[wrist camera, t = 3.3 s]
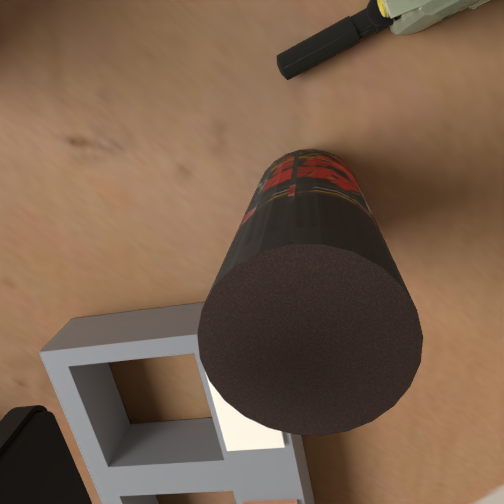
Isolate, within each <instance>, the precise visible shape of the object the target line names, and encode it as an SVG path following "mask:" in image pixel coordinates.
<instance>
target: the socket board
mask: <svg viewBox="0 0 504 504" xmlns="http://www.w3.org/2000/svg"><path fill="white" fill-rule="evenodd" d="M204 303H205V302H201V303H193V304H185V305H177V306H169V307H161V308H153V309H145V310H137V311H129V312H121V313H114V314H106V315H98V316H90V317H82V318H74V319H71V320H70V321H69V322H68V323H67V324H66V325H65V326H64V327H63V328H62V329H61V330H60V331H59V332H58V333H57V334H56V335H55V336H54V337H53V338H52V339H51V340H50V341H49V342H48V343H47V344H46V345H45V346H44V347H43V348H42V350H41V351H40V352H39V354H40V356H41V358H42V361H43V363H44V366H45V368H46V370H47V373H48V375H49V377H50V380H51V382H52V385H53V387H54V389H55V392H56V394H57V397H58V399H59V401H60V404H61V406H62V409H63V411H64V413H65V416H66V418H67V421H68V423H69V425H70V428H71V430H72V433H73V435H74V437H75V440H76V442H77V445H78V447H79V449H80V452H81V454H82V456H83V459H84V461H85V464H86V466H87V468H88V471H89V473H90V476H91V478H92V480H93V483H94V485H95V488H96V490H97V492H98V495H99V497H100V500H101V502H102V504H159V503H158V500H157V497H156V494H175V493H196V492H217V491H233V493H234V497H235V500H236V504H315V502H314V497H313V491H312V486H311V481H310V476H309V471H308V466H307V461H306V456H305V451H304V446H303V441H302V436H301V435H295V434H290V433H286V432H282V431H278V430H274V429H270V428H267V427H265V426H263V425H261V424H259V423H257V422H255V421H253V420H251V419H248V418H246V417H245V416H243V415H242V414H241V413H239V412H238V411H237V410H236V409H234V408H233V407H232V406H231V405H229V404H228V403H227V402H226V401H224V399H223V398H222V397H221V395H220V394H219V393H218V392H217V390H216V389H215V388H214V386H213V385H212V384H211V383H210V381H209V379H208V377H207V374H206V372H205V370H204V367H203V365H202V362H201V360H200V356H199V347H198V338H197V332H198V327H199V321H200V316H201V310H202V308H203V306H204ZM191 353H194V354H195V357H196V361H197V364H198V368H199V372H200V375H201V379H202V382H203V386H204V389H205V393H206V397H207V400H208V404H209V407H210V411H211V414H212V418H200V419H188V420H175V421H162V422H149V423H137V424H130V422H129V419H128V417H127V414H126V411H125V408H124V405H123V403H122V400H121V397H120V394H119V392H118V389H117V386H116V383H115V380H114V378H113V375H112V372H111V369H110V367H109V364H108V362H115V361H125V360H134V359H144V358H153V357H163V356H172V355H182V354H191Z"/></svg>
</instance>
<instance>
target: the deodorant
mask: <svg viewBox="0 0 504 504" xmlns="http://www.w3.org/2000/svg"><path fill="white" fill-rule="evenodd" d="M197 338H198V347H199V356H200V360H201V362H202V365H203V367H204V370H205V372H206V374H207V377H208V379H209V381H210V383H211V384H212V385H213V386H214V388H215V389H216V390H217V392H218V393H219V394H220V395H221V397H222V398H223V399H224V401H226V402H227V403H228V404H229V405H231V406H232V407H233V408H234V409H236V410H237V411H238V412H239V413H241V414H242V415H243V416H245V417H246V418H248V419H251V420H253V421H255V422H257V423H259V424H261V425H263V426H265V427H267V428H270V429H274V430H278V431H282V432H286V433H290V434H295V435H327V434H333V433H339V432H345V431H349V430H352V429H354V428H357V427H359V426H362V425H364V424H367V423H369V422H372V421H373V420H375V419H376V418H378V417H379V416H380V415H382V414H383V413H385V412H386V411H387V410H389V409H390V408H392V407H393V406H394V405H395V404H396V403H397V402H398V400H399V399H400V398H401V397H402V396H403V394H404V393H405V392H406V391H407V389H408V388H409V387H410V386H411V383H412V381H413V379H414V377H415V374H416V372H417V370H418V367H419V365H420V363H421V353H422V343H423V335H422V330H421V326H420V321H419V317H418V312H417V309H416V307H415V305H414V303H413V301H412V299H411V297H410V294H409V292H408V290H407V288H406V286H405V284H404V281H403V279H402V277H401V275H400V273H399V271H398V269H397V266H396V264H395V262H394V260H393V258H392V256H391V253H390V251H389V249H388V247H387V245H386V243H385V241H384V238H383V236H382V234H381V232H380V230H379V228H378V225H377V223H376V221H375V219H374V217H373V215H372V213H371V210H370V208H369V206H368V204H367V202H366V200H365V197H364V195H363V193H362V191H361V189H360V187H359V185H358V182H357V180H356V179H355V177H354V175H353V173H352V172H351V170H350V168H348V167H347V166H346V165H345V164H344V163H343V162H342V161H341V160H340V159H339V158H337V157H335V156H333V155H331V154H329V153H327V152H323V151H318V150H298V151H295V152H292V153H289V154H286V155H284V156H283V157H281V158H279V159H278V160H276V161H275V162H274V163H273V164H272V165H271V166H270V167H269V168H268V169H267V170H266V171H265V173H264V175H263V177H262V179H261V181H260V183H259V185H258V187H257V189H256V191H255V193H254V196H253V198H252V200H251V202H250V204H249V207H248V209H247V211H246V213H245V215H244V218H243V220H242V222H241V224H240V226H239V229H238V231H237V233H236V235H235V237H234V240H233V242H232V244H231V246H230V248H229V251H228V253H227V255H226V257H225V259H224V262H223V264H222V266H221V268H220V270H219V273H218V275H217V277H216V279H215V281H214V284H213V286H212V288H211V290H210V292H209V295H208V297H207V299H206V301H205V303H204V306H203V308H202V310H201V316H200V321H199V327H198V332H197Z"/></svg>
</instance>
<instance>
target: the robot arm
mask: <svg viewBox="0 0 504 504" xmlns="http://www.w3.org/2000/svg"><path fill="white" fill-rule="evenodd" d="M0 504H92V502H91V500H90V497H89V495H88V493H87V490H86V488H85V486H84V483H83V481H82V479H81V476H80V474H79V472H78V469H77V467H76V465H75V463H74V460H73V458H72V456H71V453H70V451H69V449H68V446H67V444H66V442H65V439H64V437H63V435H62V432H61V430H60V428H59V426H58V423H57V421H56V419H55V416H54V415H53V413H51V412H48V411H47V409H46V408H45V407H44V406H41V405H36V406H26V407H16V408H13V409H11V410H10V411H9V412H8V413H7V414H6V415H5V416H4V418H3V419H2V420H1V421H0Z"/></svg>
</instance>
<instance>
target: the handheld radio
mask: <svg viewBox="0 0 504 504" xmlns="http://www.w3.org/2000/svg"><path fill="white" fill-rule="evenodd" d="M488 1H490V0H370V2H369V3H368V6H367V8H366V9H364V10H362V11H360V12H359V13H357V14H355V15H353V16H351V17H350V16H348V17H346V18H344V19H342V20H341V21H339V22H337V23H335V24H333V25H332V26H330V27H328V28H326V29H324V30H322V31H321V32H319V33H317V34H315V35H313V36H312V37H310V38H308V39H306V40H304V41H302V42H301V43H299V44H297V45H295V46H293V47H292V48H290V49H288V50H286V51H284V52H282V53H281V54H279V55H277V65H278V68H279V70H280V72H281V74H282V75H283V76H284V77H285V78H286V79H287V80H289V79H291V78H293V77H295V76H297V75H299V74H300V73H302V72H304V71H306V70H308V69H310V68H312V67H314V66H315V65H317V64H319V63H321V62H323V61H325V60H327V59H329V58H331V57H332V56H334V55H336V54H338V53H340V52H342V51H344V50H346V49H348V48H349V47H351V46H353V45H355V44H357V43H359V40H361V39H363V38H365V37H367V36H369V35H370V34H372V33H374V32H377V33H378V32H380V31H381V30H383V29H385V28H387V27H390V30H391V32H392V33H394V34H395V35H406V34H413V33H416V32H419V31H422V30H425V29H426V28H428V27H429V26H431V25H433V24H435V23H438V22H440V21H442V20H444V19H446V18H448V17H450V16H452V15H454V14H456V13H458V12H460V11H462V10H464V9H466V8H468V7H469V8H471V9H476V8H477V7H478V6H480V5H482V4H484V3H486V2H488Z"/></svg>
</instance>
